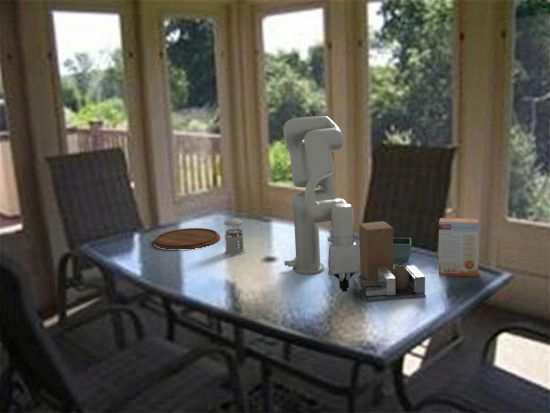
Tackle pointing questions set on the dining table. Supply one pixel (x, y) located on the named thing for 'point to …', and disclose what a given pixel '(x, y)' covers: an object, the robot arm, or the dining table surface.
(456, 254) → the cracker box
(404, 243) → the flower pot
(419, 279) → the vise
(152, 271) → the dining table surface
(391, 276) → the sliding jaw
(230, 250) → the french press
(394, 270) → the vase
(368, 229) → the wooden block
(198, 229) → the cutting board
